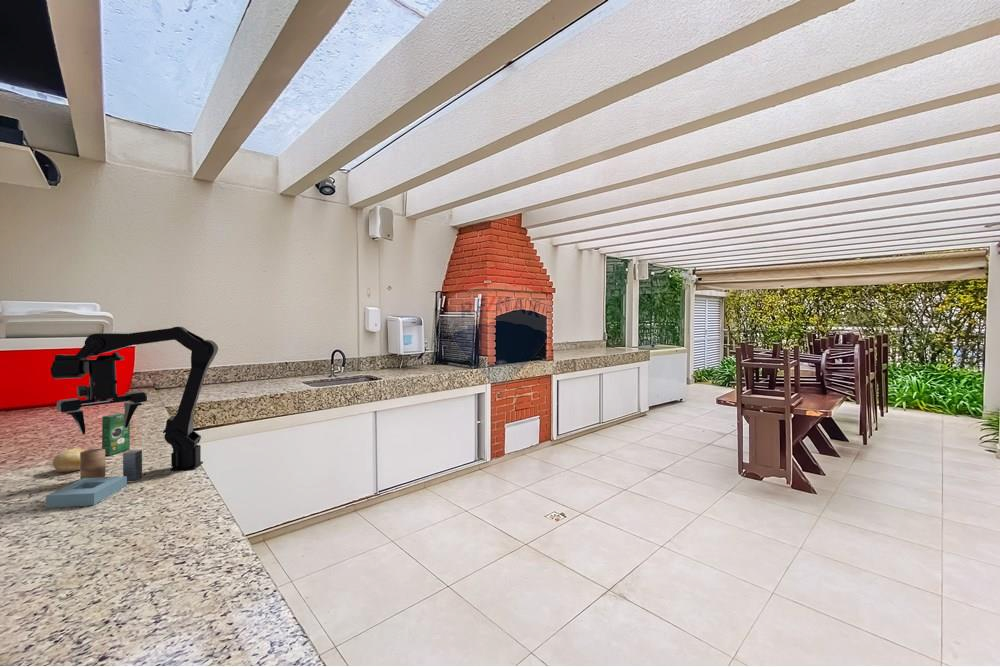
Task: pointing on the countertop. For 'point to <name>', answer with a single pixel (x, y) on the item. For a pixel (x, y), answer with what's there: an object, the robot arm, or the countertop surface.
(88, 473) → the round peg
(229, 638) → the countertop surface
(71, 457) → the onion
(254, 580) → the countertop surface
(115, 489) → the socket board
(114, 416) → the coffee box
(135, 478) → the square peg
